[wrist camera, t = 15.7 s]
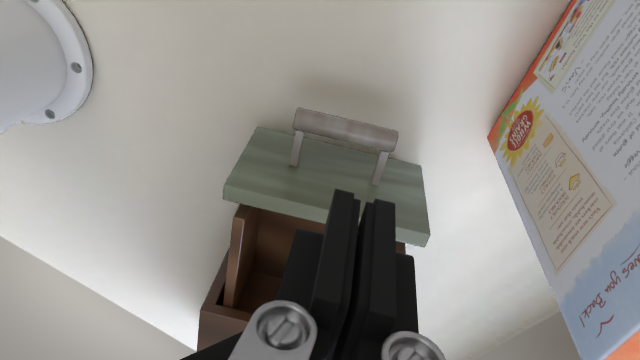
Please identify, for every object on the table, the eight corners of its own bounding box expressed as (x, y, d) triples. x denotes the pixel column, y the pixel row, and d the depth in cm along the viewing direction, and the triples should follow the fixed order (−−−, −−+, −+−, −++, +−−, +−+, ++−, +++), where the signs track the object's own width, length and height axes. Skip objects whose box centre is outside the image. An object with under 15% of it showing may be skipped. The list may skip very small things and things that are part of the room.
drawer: (264, 74, 34) (229, 124, 26) (440, 116, 34) (455, 178, 26) (238, 264, 44) (208, 338, 37) (371, 296, 44) (368, 376, 37)
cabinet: (239, 223, 43) (200, 310, 34) (389, 259, 43) (390, 356, 34) (225, 334, 52) (190, 426, 43) (349, 364, 52) (341, 462, 43)
